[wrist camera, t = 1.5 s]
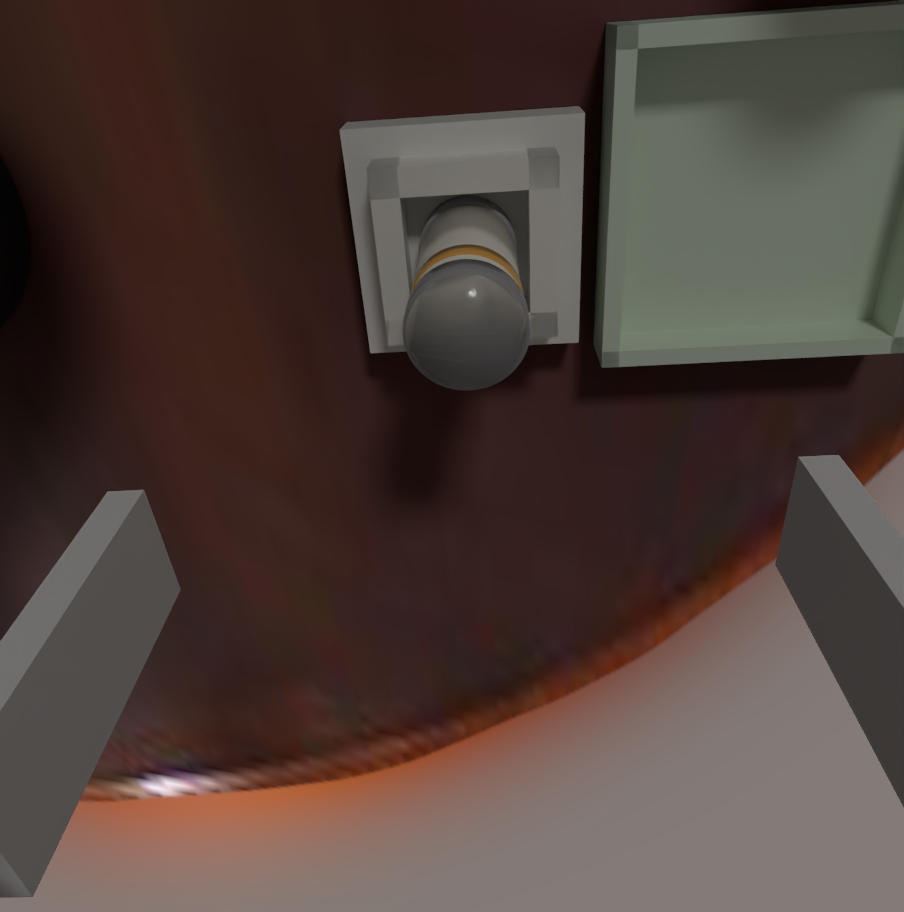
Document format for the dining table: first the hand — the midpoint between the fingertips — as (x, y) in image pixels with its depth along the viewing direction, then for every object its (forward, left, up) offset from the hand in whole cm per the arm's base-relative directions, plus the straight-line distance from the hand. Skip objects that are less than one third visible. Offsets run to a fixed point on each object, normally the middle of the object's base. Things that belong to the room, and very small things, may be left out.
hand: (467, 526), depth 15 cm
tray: (+13, +1, -22) cm, 26 cm away
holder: (0, 0, -22) cm, 23 cm away
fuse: (0, 0, -20) cm, 21 cm away
